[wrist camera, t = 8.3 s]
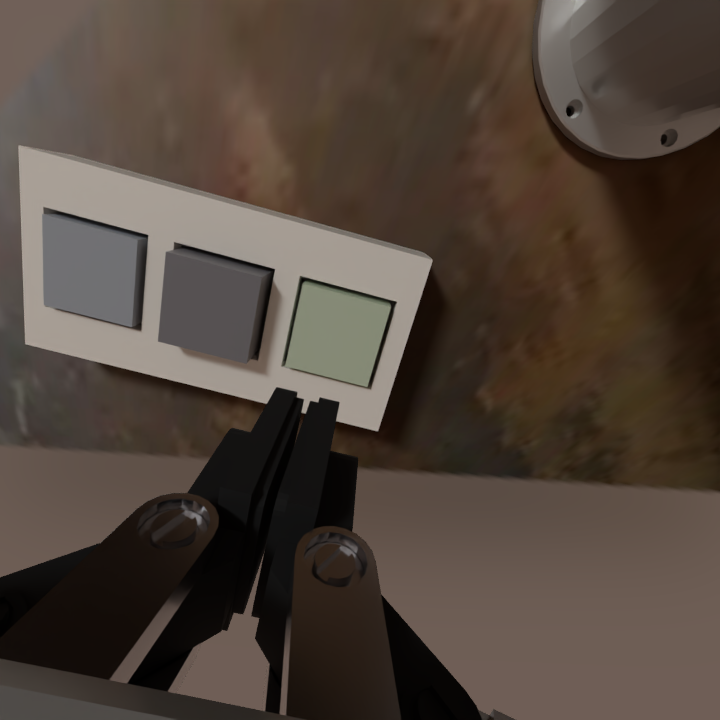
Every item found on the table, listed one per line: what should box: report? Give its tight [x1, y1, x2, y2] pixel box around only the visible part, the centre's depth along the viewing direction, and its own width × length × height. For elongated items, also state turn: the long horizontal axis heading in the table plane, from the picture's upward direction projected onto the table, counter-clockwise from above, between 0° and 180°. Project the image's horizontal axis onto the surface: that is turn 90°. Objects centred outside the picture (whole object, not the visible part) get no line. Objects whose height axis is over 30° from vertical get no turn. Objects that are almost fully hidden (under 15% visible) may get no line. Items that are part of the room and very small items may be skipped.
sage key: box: [285, 278, 391, 387], centre depth 24 cm, size 5×5×3 cm
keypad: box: [19, 145, 433, 431], centre depth 25 cm, size 22×11×4 cm, turn 75°
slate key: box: [42, 214, 148, 327], centre depth 24 cm, size 5×5×3 cm
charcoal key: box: [158, 247, 275, 364], centre depth 23 cm, size 5×5×3 cm
